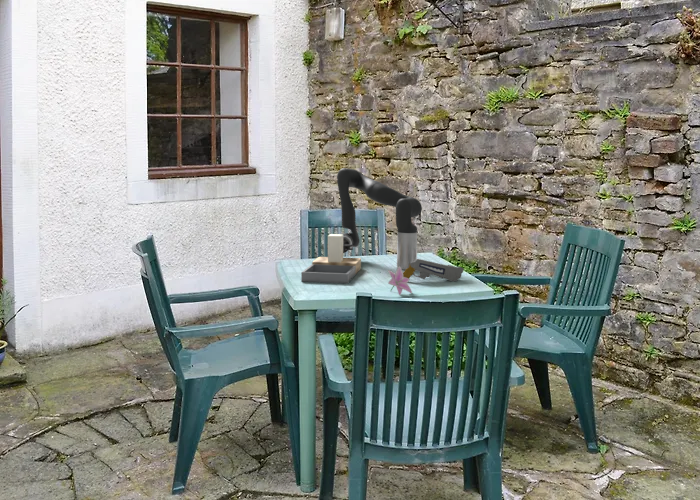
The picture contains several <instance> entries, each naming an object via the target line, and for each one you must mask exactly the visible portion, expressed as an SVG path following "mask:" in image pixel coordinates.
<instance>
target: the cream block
mask: <svg viewBox="0 0 700 500" xmlns="http://www.w3.org/2000/svg"><path fill="white" fill-rule="evenodd" d="M327 244H328V249H327V257H328V262H342V261H343V258H344V253H343V234H342V233H339V234H338V233H336V234H335V233H330V234H328V235H327Z"/></svg>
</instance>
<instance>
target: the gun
mask: <svg viewBox="0 0 700 500" xmlns="http://www.w3.org/2000/svg"><path fill="white" fill-rule="evenodd" d="M464 270H465V268H464V267H461V266H453V265H450V264H448V265H447V264H443V263H438V262H434V261H430V260H427V259H421V258H417V259H416V260H415V261H414V262H411V263H410V264H409V268H407V269H406V270H405V269H404V271H402V272H403V277H406V278H408V279H409V280H410V278H411V277H412V276H414V277H416V278H419V279H422V280H426V279H427V278H430V276H431V275H432V276H433V277H434V276H435V277H438V278H441V279H445V280H447V281H450V282H456V281H459V280H460V279H461V278H462V275H463V274H462V273H463V272H464ZM416 271H417V272H419V274H418V275H416V274H415V272H416Z"/></svg>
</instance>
